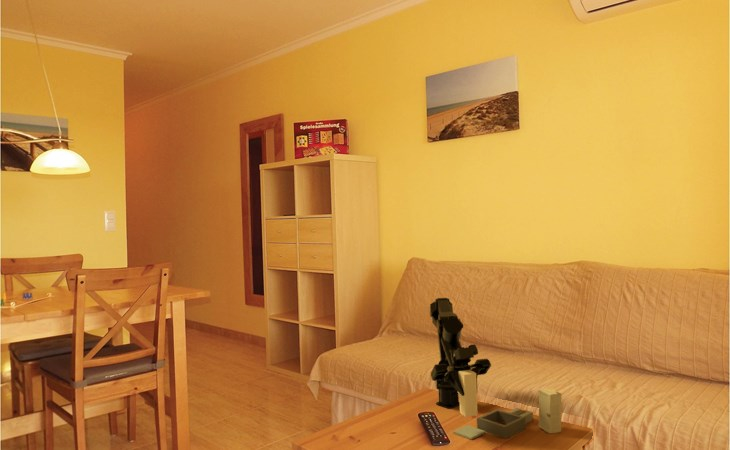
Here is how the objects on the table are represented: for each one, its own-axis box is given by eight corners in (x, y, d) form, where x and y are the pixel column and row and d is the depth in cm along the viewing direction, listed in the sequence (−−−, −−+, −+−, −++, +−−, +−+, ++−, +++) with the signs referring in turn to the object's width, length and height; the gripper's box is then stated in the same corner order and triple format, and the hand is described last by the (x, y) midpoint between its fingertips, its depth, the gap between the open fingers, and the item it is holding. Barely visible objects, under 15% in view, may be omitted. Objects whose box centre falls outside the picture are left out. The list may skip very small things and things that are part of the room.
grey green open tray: (477, 428, 171) (477, 417, 171) (511, 413, 183) (511, 403, 183) (505, 438, 163) (505, 427, 163) (539, 421, 175) (539, 411, 175)
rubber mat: (453, 433, 168) (453, 431, 168) (467, 426, 173) (467, 424, 173) (471, 439, 163) (471, 437, 163) (485, 433, 168) (485, 431, 168)
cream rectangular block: (459, 412, 169) (458, 371, 169) (471, 410, 170) (470, 369, 170) (465, 417, 166) (464, 374, 165) (477, 415, 167) (476, 373, 166)
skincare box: (538, 427, 171) (536, 388, 170) (550, 424, 172) (549, 386, 172) (550, 434, 165) (549, 394, 165) (562, 432, 166) (561, 392, 166)
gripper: (432, 339, 169) (448, 385, 158) (487, 333, 174) (506, 377, 163) (424, 357, 177) (439, 402, 166) (476, 351, 181) (494, 395, 171)
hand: (469, 394), depth 166 cm, fingers closed on cream rectangular block, 4 cm apart
